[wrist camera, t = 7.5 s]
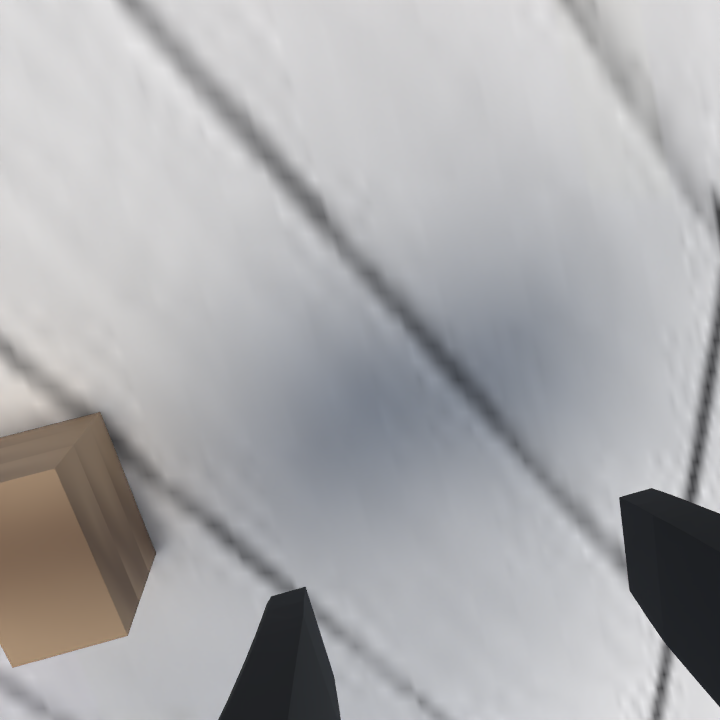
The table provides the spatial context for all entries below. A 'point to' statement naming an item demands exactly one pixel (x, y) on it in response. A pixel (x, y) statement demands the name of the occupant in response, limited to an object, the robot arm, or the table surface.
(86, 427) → the block
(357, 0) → the table surface
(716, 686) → the robot arm
